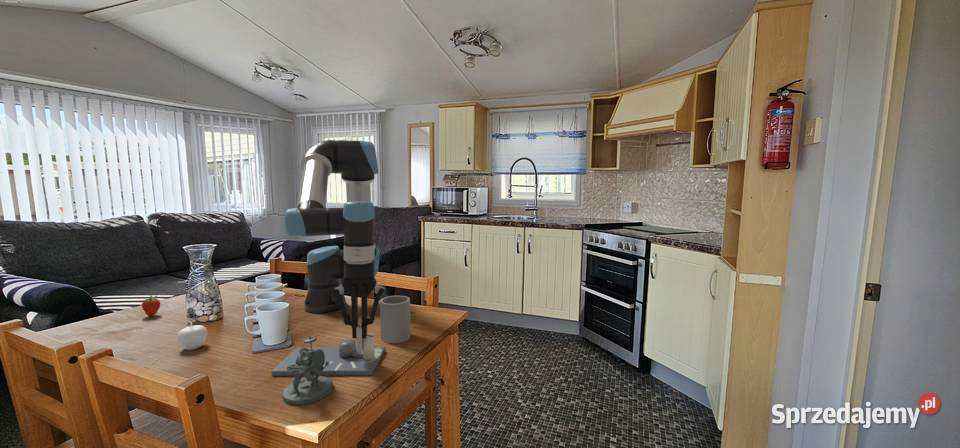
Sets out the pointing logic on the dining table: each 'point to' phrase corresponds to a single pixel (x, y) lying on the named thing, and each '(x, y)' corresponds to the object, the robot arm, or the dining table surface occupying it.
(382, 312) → the cup
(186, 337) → the plain white apple
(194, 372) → the dining table surface
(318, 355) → the figurine
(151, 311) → the fruit
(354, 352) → the grey and white piece
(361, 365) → the board
